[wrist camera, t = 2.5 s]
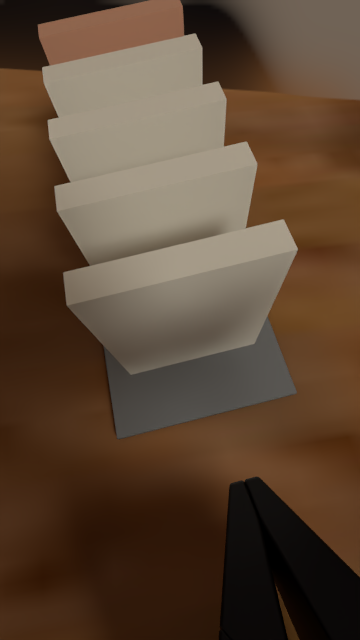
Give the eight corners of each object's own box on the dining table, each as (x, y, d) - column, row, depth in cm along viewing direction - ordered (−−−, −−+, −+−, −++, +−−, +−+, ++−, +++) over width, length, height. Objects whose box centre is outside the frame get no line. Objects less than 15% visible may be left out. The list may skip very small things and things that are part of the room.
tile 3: (217, 239, 28) (226, 99, 17) (111, 265, 27) (49, 139, 16) (212, 225, 28) (218, 81, 17) (108, 250, 28) (47, 120, 17)
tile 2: (234, 287, 26) (257, 164, 15) (120, 315, 26) (57, 211, 14) (228, 271, 26) (246, 141, 15) (117, 298, 26) (54, 186, 15)
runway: (294, 394, 23) (296, 392, 22) (119, 439, 22) (117, 438, 22) (187, 114, 35) (187, 109, 35) (74, 140, 35) (72, 135, 34)
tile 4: (202, 198, 30) (202, 47, 19) (103, 221, 29) (43, 82, 18) (198, 185, 30) (195, 33, 19) (101, 208, 30) (42, 67, 19)
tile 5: (190, 161, 32) (182, 6, 21) (97, 183, 31) (39, 37, 20) (186, 150, 32) (177, -6, 21) (94, 172, 32) (37, 24, 21)
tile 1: (254, 343, 24) (297, 249, 13) (130, 374, 24) (66, 305, 13) (247, 324, 24) (283, 219, 13) (127, 354, 24) (63, 272, 13)
